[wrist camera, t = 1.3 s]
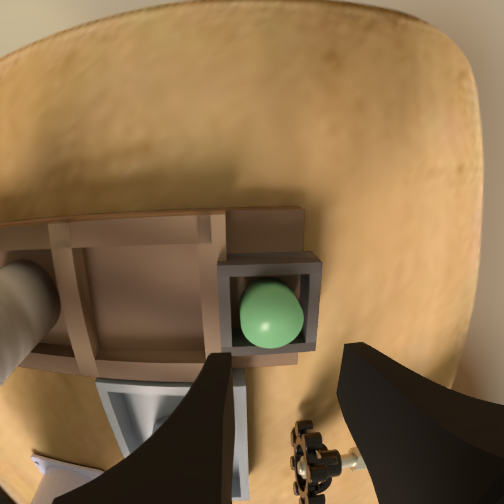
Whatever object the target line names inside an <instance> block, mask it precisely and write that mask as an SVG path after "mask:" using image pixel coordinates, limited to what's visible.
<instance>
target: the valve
mask: <svg viewBox="0 0 504 504" xmlns="http://www.w3.org/2000/svg"><path fill="white" fill-rule="evenodd" d="M307 429H313V423H312V420H303V421H296V423H295V432H291V444H292V446H293V447H294V456H291V457H290V466H291V469H292V470H294V471H295V478H296V481H295V482H294V483H293V490H294V494H295V495H296V496H297V495H300V498H299V504H325V495H324V494H320V495H317V494H319V493H321V492H323V491H325V490H326V489H327V488H328V487H329V486H330V484H331V482H332V477H336V476H339V475H340V474H341V471H342V469H343V468H348V467H350V468H351V470H352V471H357V470H361V469H366V468H367V467H366V465H365V463H364V460H363V458H362V456H361V454H360V452H359V450H358V448H357V447H354V448H351V449H350V450H349V452H348V454H344V455H340V453H339V452H338V450H336V449H333V450H328V449H327V447H326V446H325V445H324V444H323V443H322V436H321V433H320V432H315V433H307ZM316 451H318V452H316ZM319 482H321V483H320V484H318V483H319Z"/></svg>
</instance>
